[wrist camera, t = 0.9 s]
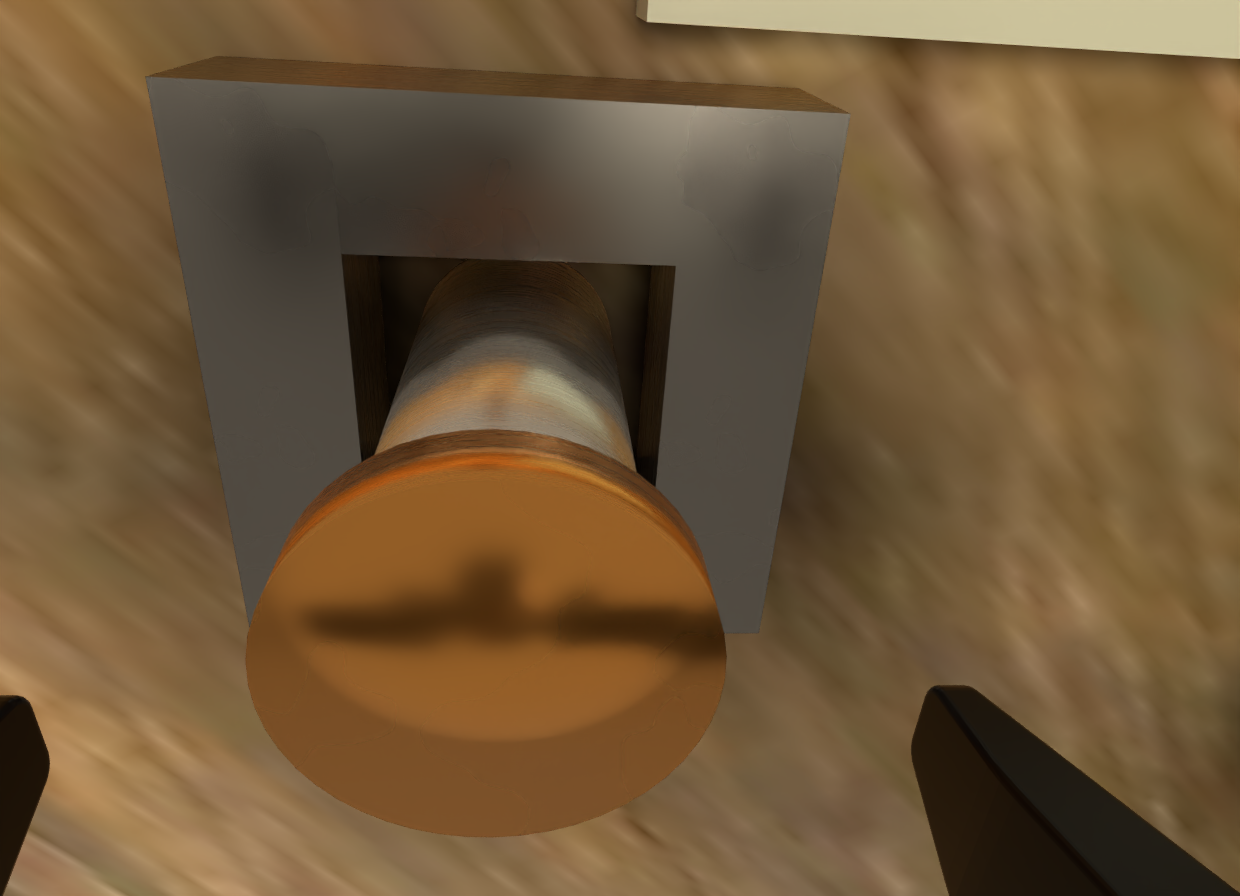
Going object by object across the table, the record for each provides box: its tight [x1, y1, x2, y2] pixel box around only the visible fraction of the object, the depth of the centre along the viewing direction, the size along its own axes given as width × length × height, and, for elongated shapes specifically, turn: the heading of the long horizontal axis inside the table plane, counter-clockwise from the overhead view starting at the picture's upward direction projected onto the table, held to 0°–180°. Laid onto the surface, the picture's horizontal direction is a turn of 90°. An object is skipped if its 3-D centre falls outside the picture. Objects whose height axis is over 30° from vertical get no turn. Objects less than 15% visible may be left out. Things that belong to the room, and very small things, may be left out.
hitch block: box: [146, 56, 850, 633], centre depth 16 cm, size 10×10×3 cm
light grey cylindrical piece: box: [246, 259, 727, 837], centre depth 13 cm, size 5×5×10 cm
